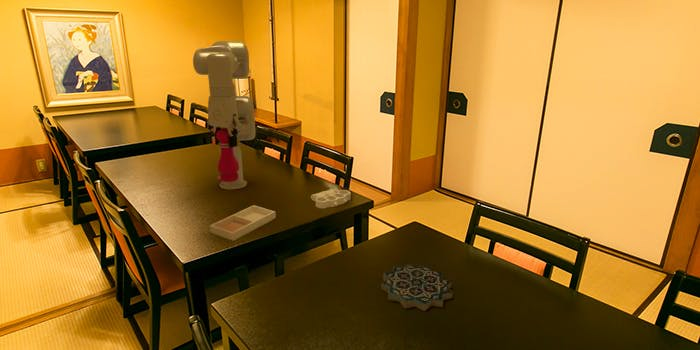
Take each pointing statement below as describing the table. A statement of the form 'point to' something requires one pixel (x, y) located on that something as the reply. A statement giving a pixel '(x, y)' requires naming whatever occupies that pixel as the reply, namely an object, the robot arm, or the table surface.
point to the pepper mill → (226, 158)
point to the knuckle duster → (331, 198)
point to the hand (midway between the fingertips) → (226, 144)
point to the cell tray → (242, 222)
